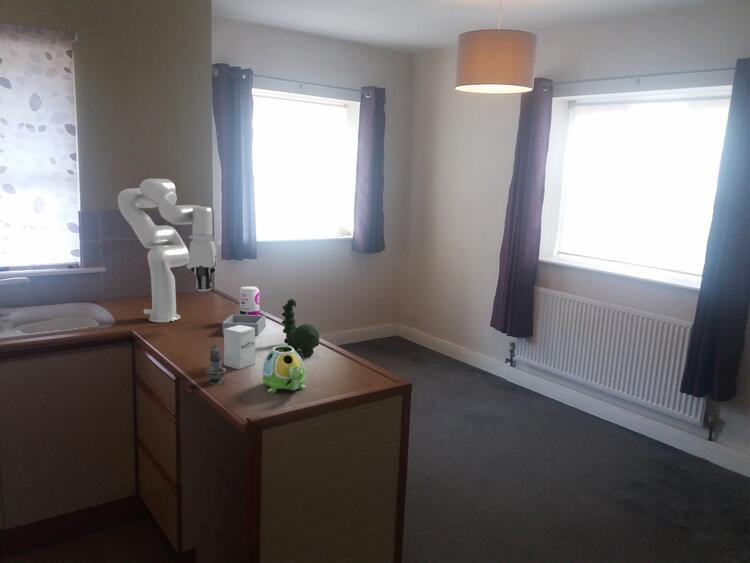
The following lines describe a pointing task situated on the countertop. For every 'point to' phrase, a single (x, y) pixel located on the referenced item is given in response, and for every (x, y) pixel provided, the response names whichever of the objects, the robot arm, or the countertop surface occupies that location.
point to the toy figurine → (299, 332)
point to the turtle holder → (283, 369)
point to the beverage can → (203, 279)
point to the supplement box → (239, 346)
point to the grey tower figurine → (215, 367)
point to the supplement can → (249, 300)
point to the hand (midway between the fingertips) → (203, 283)
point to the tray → (245, 322)
